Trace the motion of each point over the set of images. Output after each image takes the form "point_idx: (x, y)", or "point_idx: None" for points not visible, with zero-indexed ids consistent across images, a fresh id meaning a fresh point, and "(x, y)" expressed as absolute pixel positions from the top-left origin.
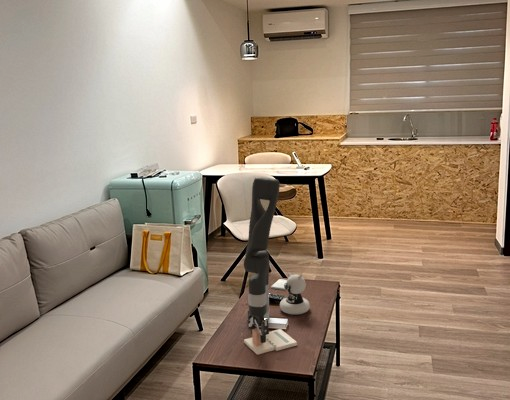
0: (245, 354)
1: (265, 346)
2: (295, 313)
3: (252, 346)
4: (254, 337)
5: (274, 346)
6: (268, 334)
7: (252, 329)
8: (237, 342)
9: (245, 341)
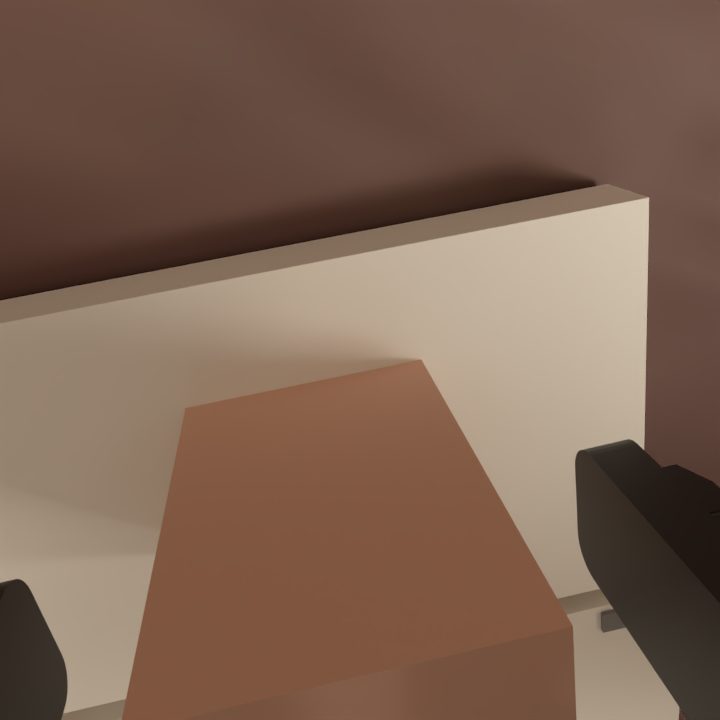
0: (11, 29)
1: (126, 576)
2: None
3: (206, 306)
4: (318, 491)
5: (101, 716)
6: (595, 701)
7: (550, 636)
8: (703, 23)
9: (560, 209)
